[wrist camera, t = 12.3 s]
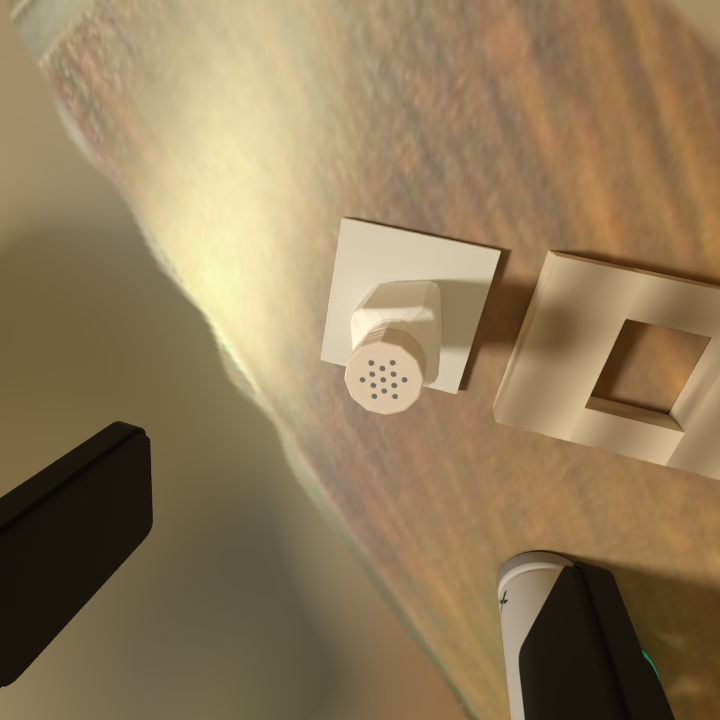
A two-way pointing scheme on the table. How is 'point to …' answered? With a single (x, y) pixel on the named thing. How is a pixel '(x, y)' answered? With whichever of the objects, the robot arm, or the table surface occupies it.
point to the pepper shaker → (394, 345)
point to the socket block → (590, 351)
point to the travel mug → (523, 609)
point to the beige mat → (409, 264)
